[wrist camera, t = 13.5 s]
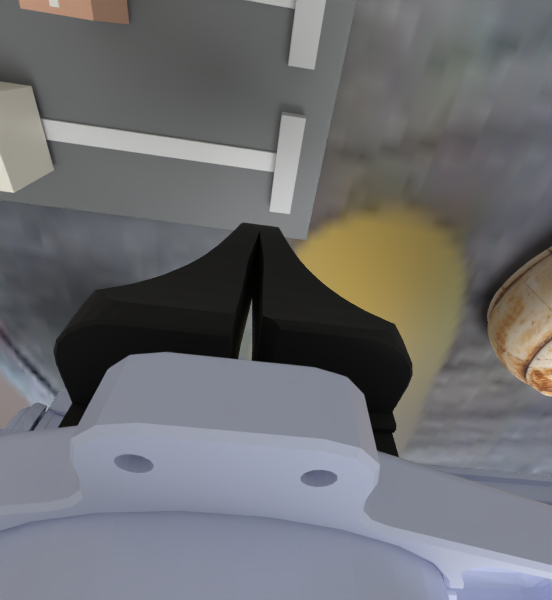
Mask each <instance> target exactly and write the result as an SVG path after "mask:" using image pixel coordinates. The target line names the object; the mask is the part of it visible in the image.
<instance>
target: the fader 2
mask: <svg viewBox="0 0 552 600" xmlns="http://www.w3.org/2000/svg"><path fill="white" fill-rule="evenodd" d="M19 4H20V8H21V9H27V10H33V11H39V12H45V13H51V14H57V15H63V16H69V17H75V18H81V19H87V20H93V21H101V22H111V23H120V24H129V17H128V7H127V0H19Z"/></svg>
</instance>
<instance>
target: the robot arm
mask: <svg viewBox="0 0 552 600" xmlns="http://www.w3.org/2000/svg"><path fill="white" fill-rule="evenodd" d="M251 300H252V361H250V360H240V359H238V356H239V351H240V345H241V341H242V337H243V333H244V329H245V325H246V321H247V317H248V313H249V309H250V305H251ZM54 356H55V361H56V365H57V367H58V369H59V372H60V374H61V377H62V379H63V382H64V384H65V387H66V388H65V389H64V391H59V393H58V395H57V396H56V398H55V399H54V401H53V402H52V404H51V406H50V407H49V409H48V410H47V412H46V411H45V410H46V408H47V406H46V405H43V404H41V403H35V404H34V405H32V406H31V407H27V408H25V409H22V410H20V411H19V412H18V413H17V414H16V415H15V416H14V417H13V418H12V419H11V421H10V422H9V423H8V424H7V426H6V427H5V428H4V429H0V600H552V475H541V474H530V473H518V472H506V471H494V470H482V469H470V468H458V467H447V466H435V465H423V464H418V463H415V462H412V461H409V460H405V459H402V458H399V456H398V452H397V449H396V445H395V442H394V438H393V435H392V433H394V432H395V430H396V423H395V419H394V416H393V410H394V408H395V407H396V405H397V403H398V402H399V400H400V399H401V397H402V395H403V393H404V392H405V390H406V389H407V387H408V385H409V382H410V380H411V377H412V362H411V359H410V357H409V354H408V352H407V349H406V347H405V344H404V342H403V339H402V338H401V335H400V334H399V331H398V330H397V328H396V326H395V324H393V323H391V322H388V321H386V320H384V319H382V318H380V317H377V316H375V315H373V314H371V313H369V312H367V311H364V310H363V309H361V308H359V307H357V306H356V305H354V304H352V303H350V302H349V301H347V300H345V299H344V298H342V297H341V296H339V295H338V294H336V293H335V292H334V291H332V290H331V289H330V288H328V287H327V286H326V285H324V284H323V283H322V282H321V281H320V280H318V279H317V278H316V277H315V276H314V275H313V274H312V273H311V272H310V271H309V270H308V269H307V268H306V267H305V266H304V264H303V263H302V262H301V261H300V260H299V258H298V257H297V256H296V254H295V253H294V251H293V250H292V249H291V247H290V245H289V244H288V242H287V241H286V239H285V237H284V235H283V233H282V231H281V230H280V228H279V227H274V226H267V225H259V224H252V223H244V222H243V223H241V224H240V225H239V226H238V227H237V228H236V229H235V230H234V231H233V232H232V233H231V234H230V235H229V236H228V237H227V238H226V239H225V240H224V241H222V242H221V243H220V244H219V245H218V246H216V247H215V248H214V249H212V250H211V251H210V252H208V253H207V254H206V255H204V256H203V257H201V258H199V259H197V260H196V261H194V262H192V263H190V264H188V265H186V266H184V267H181V268H179V269H177V270H174V271H172V272H169V273H167V274H164V275H161V276H158V277H155V278H152V279H149V280H145V281H141V282H138V283H133V284H129V285H124V286H118V287H113V288H107V289H102V290H95V292H94V293H93V294H92V295H91V296H90V297H89V298H88V299H87V300H86V302H85V303H84V304H83V305H82V306H81V308H80V309H79V310H78V312H77V313H76V314H75V316H74V317H73V318H72V320H71V321H70V322H69V324H68V325H67V326H66V328H65V329H64V330H63V332H62V333H61V334H60V336H59V337H58V338H57V340H56V344H55V348H54Z"/></svg>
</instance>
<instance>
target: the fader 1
mask: <svg viewBox="0 0 552 600" xmlns="http://www.w3.org/2000/svg"><path fill="white" fill-rule="evenodd" d="M52 171H54V168H53V164H52V161H51V157H50V153H49V150H48V146H47V142H46V138H45V135H44V131H43V127H42V123H41V120H40V116H39V112H38V108H37V105H36V101H35V97H34V94H33V90H32V86H27V85H21V84H14V83H8V82H1V81H0V191H5V192H12V193H15V192H16V191H18V190H20V189H22V188H23V187H25V186H27V185H29V184H30V183H32V182H34V181H36V180H38V179H39V178H41V177H43V176H45V175H46V174H48V173H50V172H52Z"/></svg>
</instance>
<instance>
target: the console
mask: <svg viewBox="0 0 552 600" xmlns="http://www.w3.org/2000/svg"><path fill="white" fill-rule="evenodd" d="M356 1H357V0H127V7H128V17H129V24H120V23H111V22H101V21H93V20H87V19H81V18H75V17H69V16H63V15H57V14H51V13H45V12H39V11H33V10H27V9H21V8H20V4H19V0H0V81H1V82H8V83H14V84H21V85H27V86H32V90H33V94H34V97H35V101H36V105H37V108H38V112H39V116H40V120H41V123H42V127H43V131H44V135H45V138H46V142H47V146H48V150H49V153H50V157H51V161H52V164H53V168H54V171H52V172H50V173H48V174H46V175H45V176H43V177H41V178H39V179H38V180H36V181H34V182H32V183H30V184H29V185H27V186H25V187H23V188H22V189H20V190H18V191H16V192H15V193H12V192H5V191H0V200H3V201H11V202H19V203H26V204H34V205H42V206H49V207H57V208H65V209H73V210H80V211H88V212H96V213H103V214H111V215H119V216H127V217H134V218H142V219H150V220H157V221H165V222H173V223H181V224H188V225H196V226H204V227H211V228H219V229H227V230H235V229H236V228H237V227H238V226H239V225H240V224H241V223H243V222H244V223H252V224H259V225H267V226H274V227H279V228H280V230H281V231H282V233H283V235H284V237H288V238H296V239H304V240H306V238H307V233H308V228H309V224H310V219H311V214H312V209H313V205H314V200H315V195H316V191H317V186H318V181H319V176H320V172H321V167H322V162H323V157H324V153H325V148H326V143H327V138H328V134H329V129H330V124H331V120H332V115H333V110H334V105H335V101H336V96H337V91H338V86H339V82H340V77H341V72H342V67H343V63H344V58H345V53H346V49H347V44H348V39H349V34H350V30H351V25H352V20H353V15H354V11H355V6H356Z"/></svg>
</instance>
